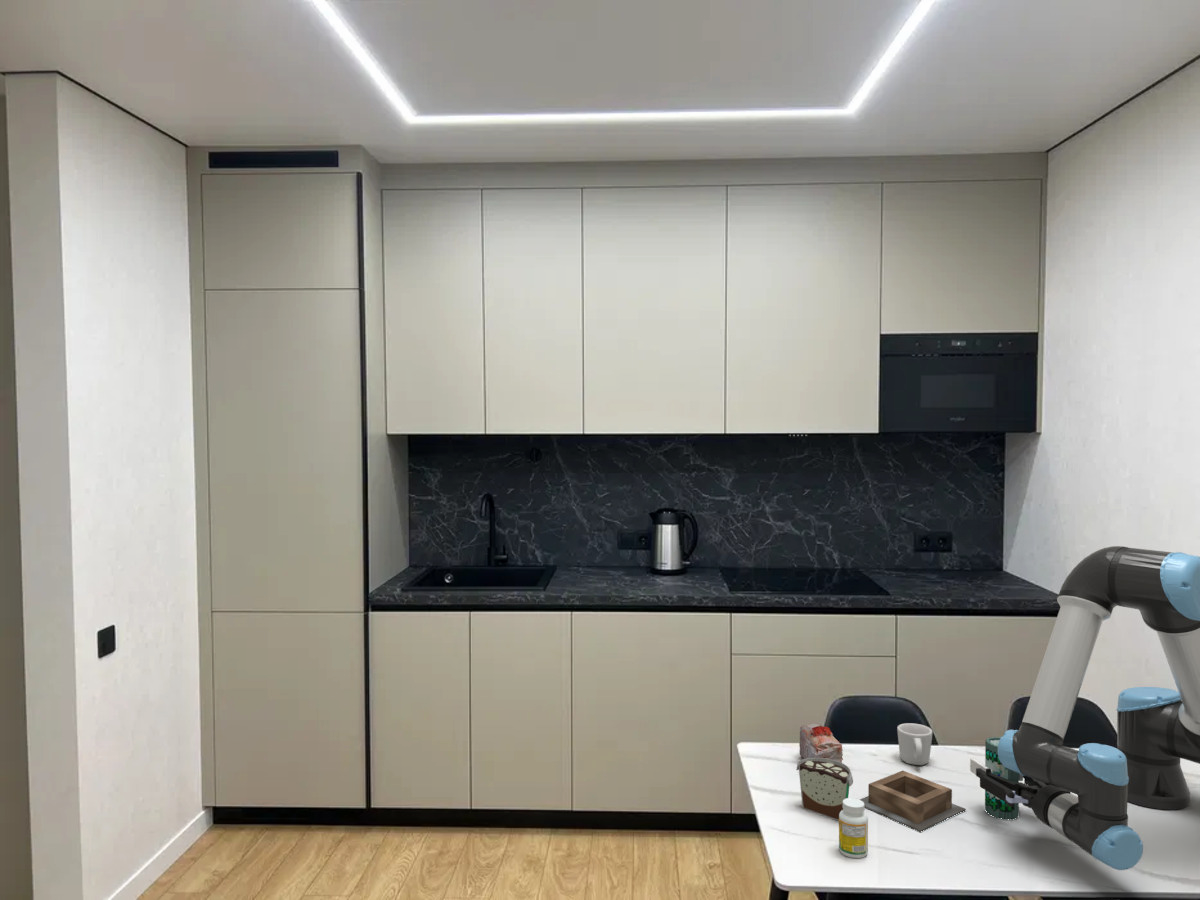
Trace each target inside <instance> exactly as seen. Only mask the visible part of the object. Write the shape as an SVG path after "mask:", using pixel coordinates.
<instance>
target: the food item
mask: <svg viewBox="0 0 1200 900" xmlns="http://www.w3.org/2000/svg"><path fill="white" fill-rule="evenodd" d="M798 747H799V755H800V757H802V759H807V758H825V759H831V760H835V761H838V762H841V763H843V760H844V758H843V744H842V743H840V741H838V740H837V739H836V738H835V737H834V734H833V733H832V731H831V729H830V728H829V727H828V726H824V725H822V724H818V723H817V724H816V723H810V724H803V725H801V726H800V727H799V746H798Z"/></svg>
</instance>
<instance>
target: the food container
mask: <svg viewBox="0 0 1200 900" xmlns="http://www.w3.org/2000/svg"><path fill="white" fill-rule="evenodd" d="M796 771H798V773H799V784H800V794H801V806H802V810H805V811H808V812H812V813H814V814H817V815H820V816H822V817H826V818H829V819H831V820H834V821H837V822H839V814H840V812H841V811H842V810H843V807H842V806H843V800H844V799H846V798H849V792H850V787H851V786H852V785H853V784H854V777H853V774H852V771H851V769H850V767H849V766H848V765H846V764H845V763H844V762H842V763H841V762H838V761H835V760H831V759H825V758H807V759H804V758H802V759H801V760H798V763H797V764H796Z"/></svg>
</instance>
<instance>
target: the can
mask: <svg viewBox="0 0 1200 900" xmlns="http://www.w3.org/2000/svg"><path fill="white" fill-rule="evenodd" d="M1001 737H1002V736H1001ZM1001 737H1000V736H997V737H995V736H993V737H991V736H990V737H988V738H986V739H985V743H984V744H985V750H984V751H985V754H984V755H985V758H984V761H985V764H984V765H985V766H986V767H988V768H989V769H991V770H992V771H993V774H995V775H998V776H1000V777H1003V778H1005V779H1008V780H1010V781H1013V782H1015V783H1019V782H1020V781H1019V773H1017V772H1015V771H1013V770H1010V769H1008V768H1006V767H1004V765H1002V763H1001V762H1000V760H999V757H998V744H999V740H1000V738H1001ZM1019 804H1020V803H1015V806H1014V807H1010V806H1008V805H1007V804H1006V803H1005V802H1004V801H1003V800H1001V799H999V798H998V797H996V796H994V795H993V794H991V793H989V792H988V791H986V790H984V811H985V810H986V811H987V813H989V814H988V815H992V816H994V817H993V818H995V817H996V818H995V819H997V818H1002V819H1009V820H1008V821H1011V820H1013V819H1014V820H1016V819H1017V817H1018V816H1019V815H1020V814H1019V810H1020V809H1019V808H1020V807H1019ZM986 811H985V812H986ZM987 813H986V814H987ZM992 816H991V817H992ZM1015 818H1016V819H1015ZM1018 818H1019V817H1018ZM1002 819H1001V820H1002ZM1010 819H1011V820H1010Z"/></svg>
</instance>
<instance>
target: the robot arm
mask: <svg viewBox="0 0 1200 900" xmlns="http://www.w3.org/2000/svg"><path fill="white" fill-rule="evenodd" d="M1056 600H1057V601H1056V602H1057V603H1058V604H1059V607H1060V608H1059V610H1058V613H1057V617H1056V620H1055V622H1054V626H1053V629H1052V631H1051V635H1050V637H1049V641H1048V643H1047V647H1046V649H1045V653H1044V656H1043V658H1042V662H1041V664H1040V667H1039V670H1038V673H1037V675H1036V679H1035V682H1034V685H1033V688H1032V692H1031V694H1030V696H1029V697H1030V698H1029V699H1028V700H1029V701H1028V703H1027V705H1026V709H1025V712H1024V714H1023V718H1022V722H1021V724H1020V726H1019V729H1015V730H1014V729H1008V730H1006V731H1004V733H1003V735H1002V736H1001V738H1000V740H999V744H998V757H999V760H1000V762H1001V763H1002V765H1004V767H1006V768H1008V769H1010V770H1013V771H1015V772H1017V773H1019V783H1015V782H1013V781H1010V780H1008V779H1005V778H1003V777H1000V776H998V775H995V774H993V771H992V770H991V769H989V768H988V767H986V766H985V764H983V763H981V762H980V761H978V760H977V759H975V758H970V763H969V765H970V771H969V772H970V773H973V774H974V775H975V776H976V777H977V778H978V779H979V787H980V788H981V789H983V790H984V791H985V790H986V791H988V792H989V793H991V794H993V795H994V796H996V797H998V798H999V799H1001V800H1003V801H1004V802H1005V803H1006V804H1007V805H1008V806H1010V807H1014V806H1015V803H1019V804H1022V805H1023V806H1024V807H1027V808H1030V809H1031V811H1032V812H1033V813H1034V815H1035V817H1036V818H1037V819H1038V820H1039V821H1040V822H1041V823H1043V824H1045V825H1046V826H1048V827H1049V828H1051V829H1053V830H1054V831H1056V832H1057V833H1059V834H1060V835H1062V836H1063V837H1065V838H1067V840H1069V841H1070V842H1072V843H1073V844H1075V845H1076V846H1078V847H1079V848H1080V849H1082V850H1084V852H1086V853H1087V854H1089V855H1091V856H1092V857H1093V858H1095V859H1094V860H1097V861H1098V862H1101V863H1103V864H1104V865H1106V866H1108V867H1110V868H1112V869H1114V870H1118V871H1125V870H1130V869H1132V868H1134V867H1135V866H1136V865H1137V864H1139V862H1140V860H1141V858H1142V856H1143V852H1144V844H1143V842H1142V839H1141V836H1140V835H1139V834H1138V833H1137V832H1136V831H1135V830H1134V829H1133V828H1132V827H1130V826H1129V825H1128V824H1129V823H1128V822H1129V816H1128V802H1129V803H1132V804H1135V805H1137V806H1142V807H1146V808H1151V809H1157V810H1181V809H1184V808H1187V807H1188V806H1190V802H1191V801H1190V799H1191V798H1190V795H1191V793H1190V788H1189V786H1188V784H1187V781H1186V778H1185V776H1184V773H1183V770H1182V766H1181V759H1183V760H1185V761H1190V762H1193V763H1196V764H1199V765H1200V556H1198V555H1193V554H1188V553H1185V552H1179V551H1176V552H1171V551H1164V550H1155V549H1145V548H1136V547H1128V546H1123V545H1122V546H1121V545H1117V546H1116V545H1114V546H1107V547H1103V548H1101V549H1097V550H1096V551H1094V552H1092V553H1090V554H1089V555H1087V556H1085V557H1084V558H1083V559H1082V560H1081V561H1080V562H1079V563H1077V565H1075V566H1074V567H1073V568H1072V569H1071V571H1070V572H1069V574H1068V575H1067V577H1066V578H1065V580H1064V581H1063V584H1062V585H1061V587H1060V590H1059V592H1058V595H1057V599H1056ZM1117 606H1118V607H1123V608H1128V609H1129V608H1130V609H1134V610H1138V611H1139V612H1140V615H1141V617H1142V621H1143V622H1144V623H1145V625H1146V626H1147V627H1148V628H1150V629H1151V630H1153V631H1156V633H1157V636H1158V638H1159V641H1160V645H1161V648H1162V649H1163V652H1164V655H1165V658H1166V661H1167V663H1168V666H1169V669H1170V672H1171V674H1172V677H1173V680H1174V683H1175V685H1176V689H1177V690H1175V689H1171V688H1166V687H1165V688H1164V687H1160V686H1159V687H1158V686H1157V687H1156V686H1138V687H1137V686H1135V687H1129V688H1126V689H1123V690H1122V691H1120V693H1119V694H1118V698H1117V699H1118V700H1117V707H1116V712H1117V716H1116V717H1117V718H1116V720H1117V722H1116V723H1117V724H1116V726H1117V728H1116V730H1117V733H1116V734H1117V736H1116V737H1117V738H1116V739H1117V740H1116V741H1117V742H1116V745H1117V747H1114V746H1111V745H1107V744H1101V743H1096V742H1091V743H1085V744H1084V743H1083V744H1081V745H1080V746H1079V747H1078V749H1075V748H1072V747H1068V746H1065V745H1063V744H1064V739H1065V736H1066V733H1067V730H1068V727H1069V725H1070V724H1069V723H1070V720H1071V719H1072V714H1073V712H1074V710H1075V706H1076V703H1077V701H1078V697H1079V694H1080V690H1081V687H1082V685H1083V682H1084V679H1085V676H1086V672H1087V669H1088V666H1089V664H1090V660H1091V657H1092V654H1093V651H1094V649H1095V645H1096V642H1097V640H1098V636H1099V634H1100V631H1101V627H1102V624H1103V622H1104V621H1106V620H1108V619H1110V618H1111V616H1112V613H1113V610H1114V608H1116V607H1117ZM1023 781H1024V783H1023ZM1074 794H1075V795H1074Z"/></svg>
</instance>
